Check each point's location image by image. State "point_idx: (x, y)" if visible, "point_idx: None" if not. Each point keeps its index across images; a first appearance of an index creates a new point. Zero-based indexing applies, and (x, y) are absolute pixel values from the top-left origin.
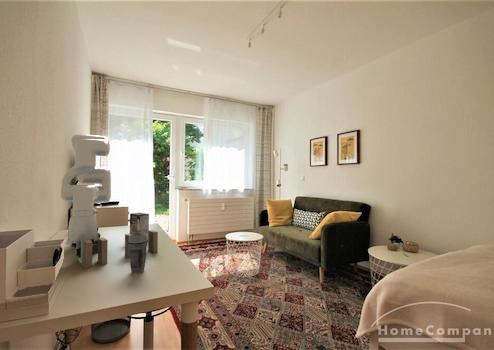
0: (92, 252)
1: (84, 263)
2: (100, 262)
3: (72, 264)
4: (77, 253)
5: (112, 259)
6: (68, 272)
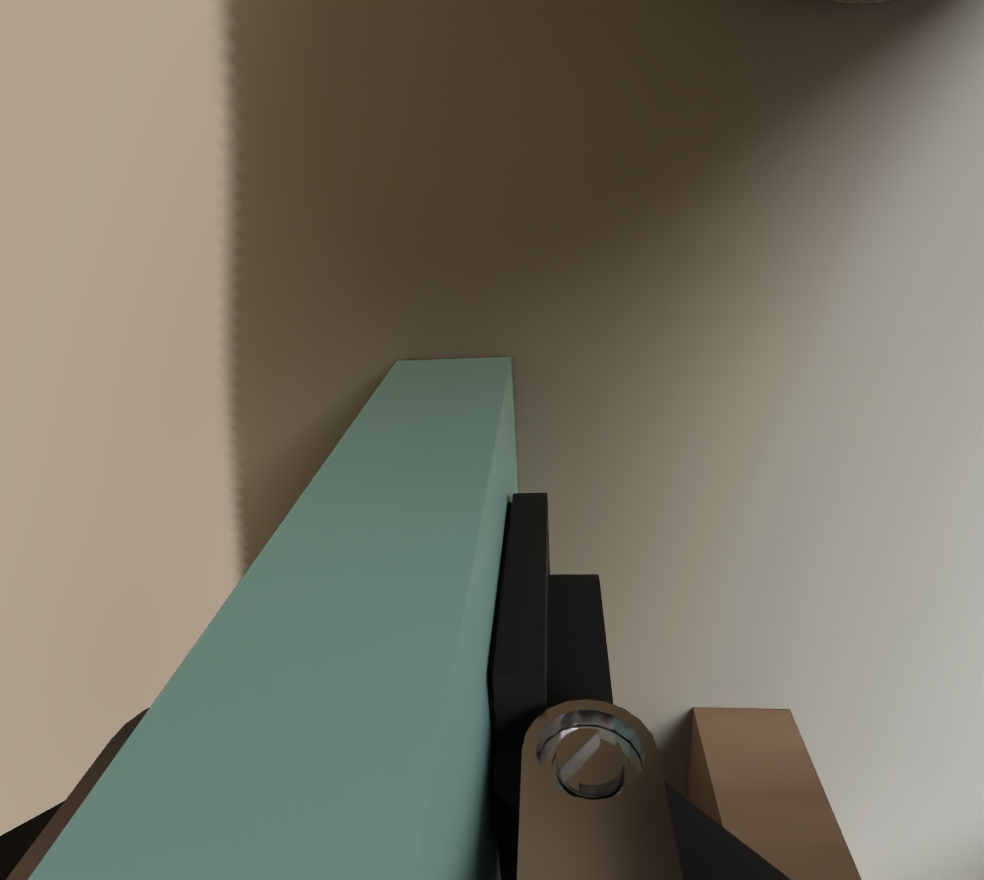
0: (851, 1)
1: None
2: None
3: None
4: None
5: (935, 771)
6: None
